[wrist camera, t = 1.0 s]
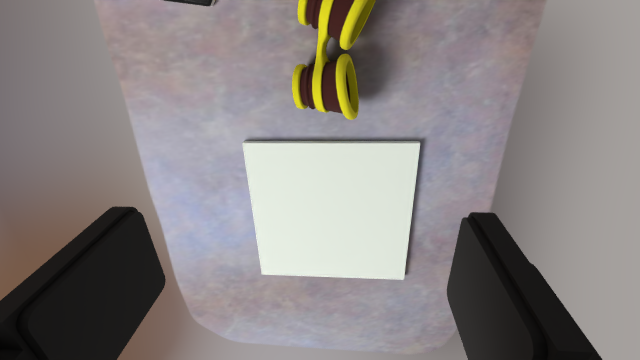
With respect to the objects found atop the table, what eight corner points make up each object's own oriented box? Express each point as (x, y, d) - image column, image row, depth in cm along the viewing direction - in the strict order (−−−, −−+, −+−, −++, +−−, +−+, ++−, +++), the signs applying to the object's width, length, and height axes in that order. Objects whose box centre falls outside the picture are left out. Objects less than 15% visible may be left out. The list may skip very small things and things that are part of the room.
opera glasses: (316, -26, 24) (293, -37, 20) (385, -18, 23) (377, -28, 19) (304, 101, 29) (283, 114, 24) (361, 111, 28) (350, 128, 23)
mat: (244, 140, 30) (242, 143, 29) (418, 140, 29) (420, 143, 28) (263, 270, 37) (261, 274, 37) (403, 275, 36) (403, 279, 35)
